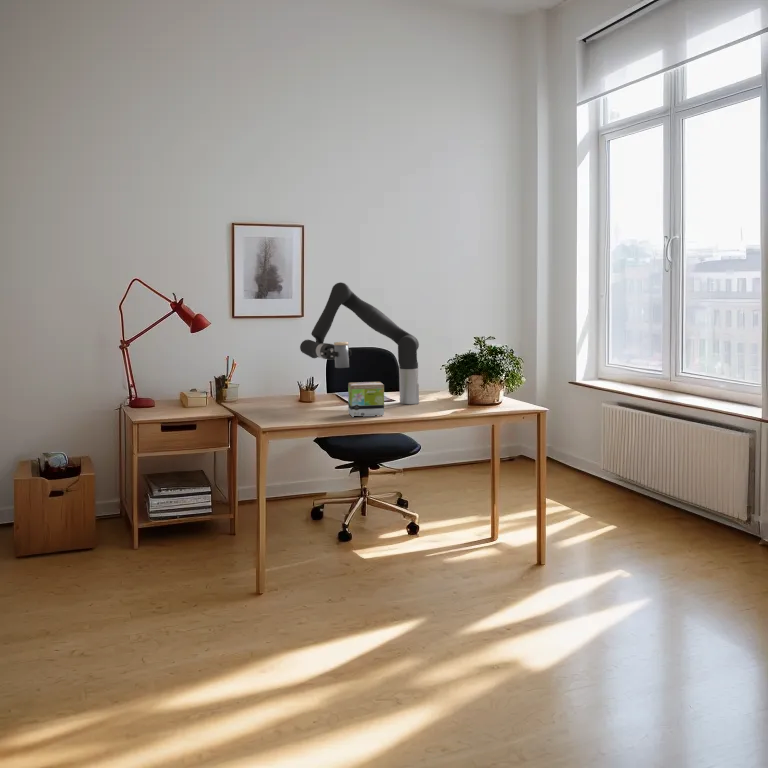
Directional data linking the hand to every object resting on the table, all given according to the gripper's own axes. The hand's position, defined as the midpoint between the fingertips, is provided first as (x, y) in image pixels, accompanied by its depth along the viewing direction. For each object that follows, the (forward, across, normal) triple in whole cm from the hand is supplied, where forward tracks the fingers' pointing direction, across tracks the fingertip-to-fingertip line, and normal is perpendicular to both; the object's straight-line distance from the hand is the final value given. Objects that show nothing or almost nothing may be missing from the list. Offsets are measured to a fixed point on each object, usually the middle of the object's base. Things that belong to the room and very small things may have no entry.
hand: (344, 353), depth 367 cm
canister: (-2, 0, +6) cm, 7 cm away
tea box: (+10, +5, +28) cm, 30 cm away
